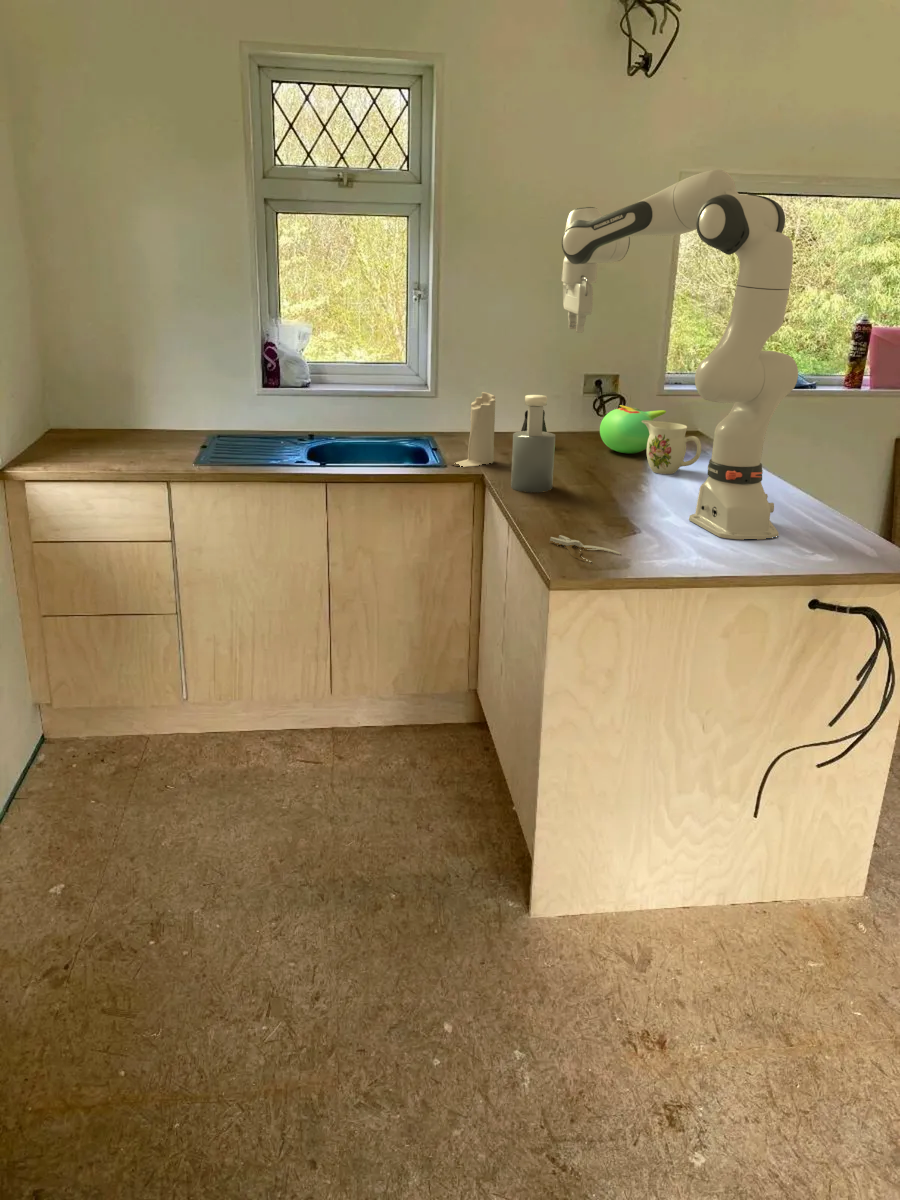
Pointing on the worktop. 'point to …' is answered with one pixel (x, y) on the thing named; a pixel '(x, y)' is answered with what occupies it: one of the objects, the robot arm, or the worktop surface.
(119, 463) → the worktop surface
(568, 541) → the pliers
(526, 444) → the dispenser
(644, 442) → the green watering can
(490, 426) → the candle
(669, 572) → the worktop surface
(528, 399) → the pump head
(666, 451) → the pitcher
